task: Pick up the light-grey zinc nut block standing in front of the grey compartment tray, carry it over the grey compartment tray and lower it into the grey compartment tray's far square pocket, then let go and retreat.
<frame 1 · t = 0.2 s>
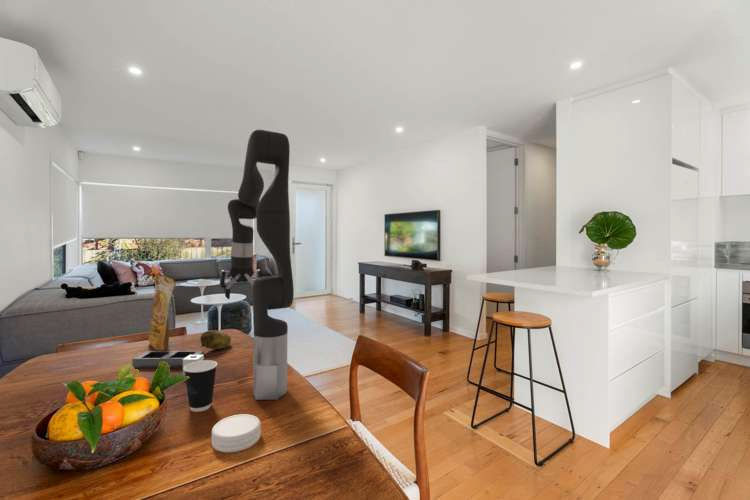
hand: (240, 297, 129), 22 cm above the table, tool pointing down, fingers open, 8 cm apart
coaster: (236, 441, 77), on the table
pancake mix bag: (160, 346, 142), on the table
potato: (216, 349, 138), on the table
grey compartment tray: (169, 363, 121), on the table
nut block: (193, 373, 113), on the table
dixie cup: (200, 407, 91), on the table
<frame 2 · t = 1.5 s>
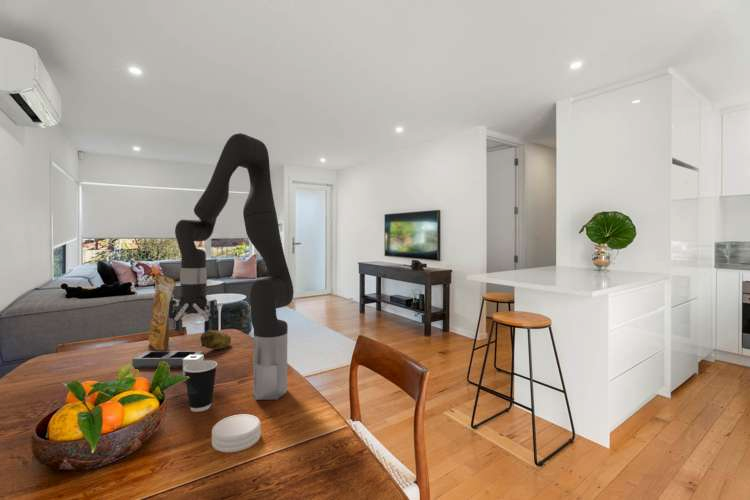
hand: (193, 331, 113), 14 cm above the table, tool pointing down, fingers open, 8 cm apart
nothing on the table moved.
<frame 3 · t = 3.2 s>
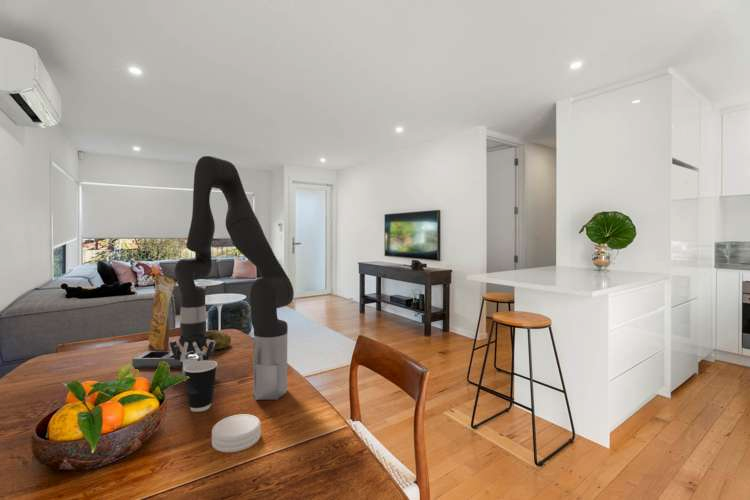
hand: (193, 371, 113), 1 cm above the table, tool pointing down, fingers closed on nut block, 4 cm apart
nut block: (193, 373, 113), on the table, touching gripper
everything else where it was.
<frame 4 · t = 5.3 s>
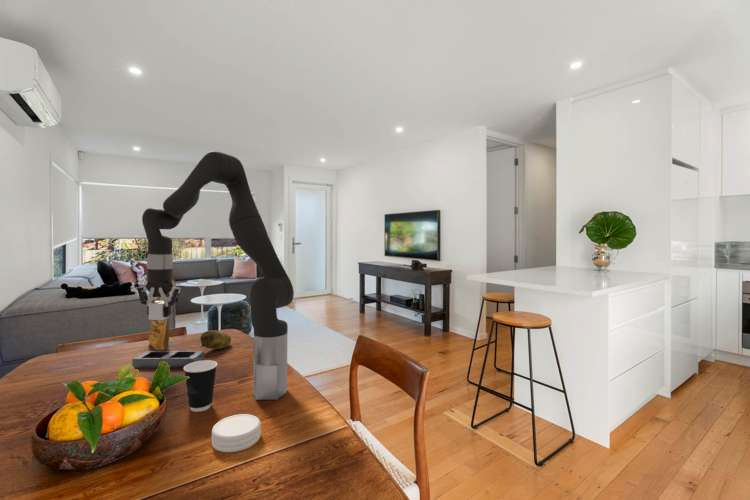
hand: (159, 316, 120), 17 cm above the table, tool pointing down, fingers closed on nut block, 4 cm apart
nut block: (159, 318, 120), point 16 cm above the table, touching gripper
everything else where it was.
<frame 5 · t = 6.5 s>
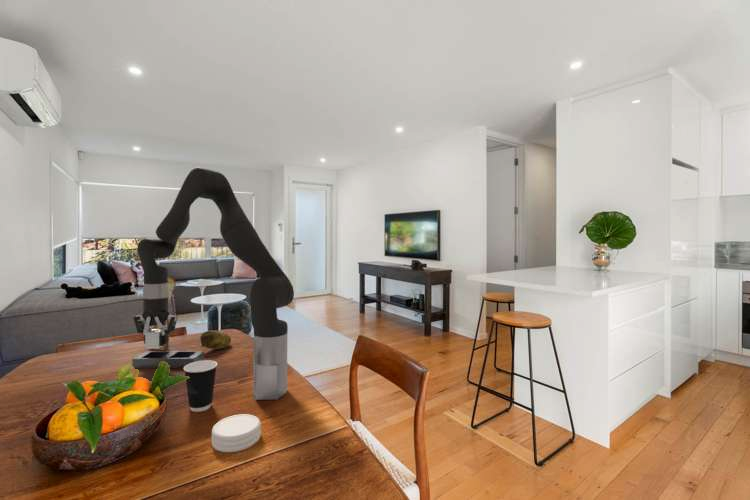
hand: (155, 344, 121), 7 cm above the table, tool pointing down, fingers closed on nut block, 4 cm apart
nut block: (155, 346, 121), point 6 cm above the table, touching gripper
everything else where it was.
when the fingers open (4 cm above the table, at t = 7.6 s): nut block drops 3 cm, resting on grey compartment tray.
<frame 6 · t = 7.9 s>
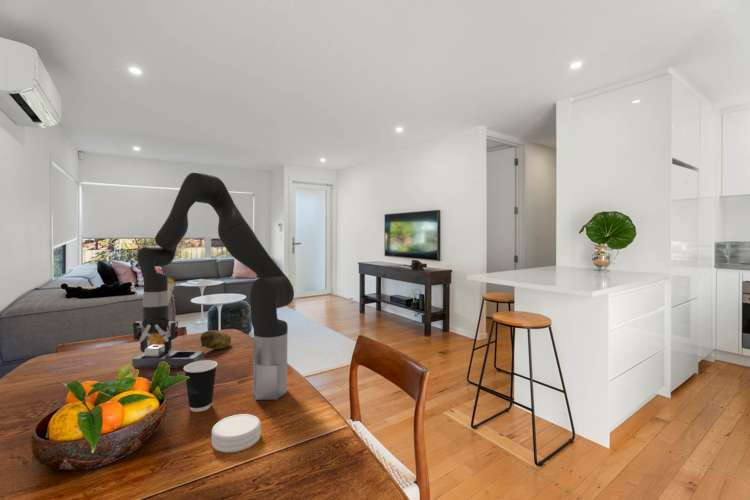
hand: (156, 351, 121), 4 cm above the table, tool pointing down, fingers open, 7 cm apart
nut block: (155, 362, 121), point 1 cm above the table, touching grey compartment tray
everything else where it was.
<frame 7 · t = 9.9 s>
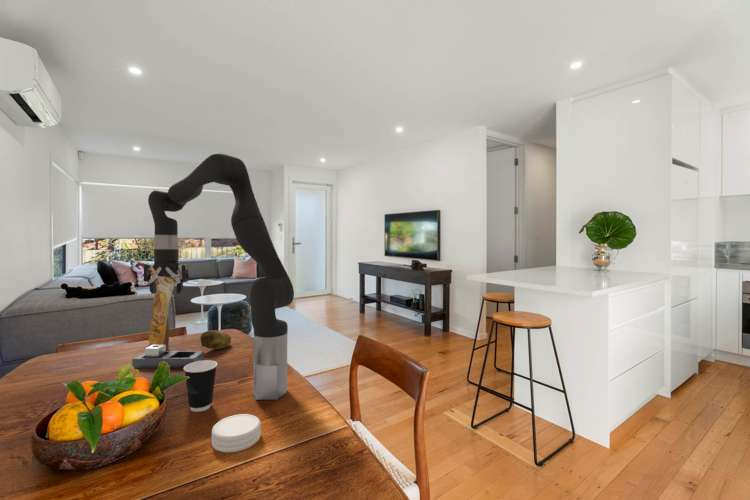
hand: (166, 293, 124), 24 cm above the table, tool pointing down, fingers open, 8 cm apart
nothing on the table moved.
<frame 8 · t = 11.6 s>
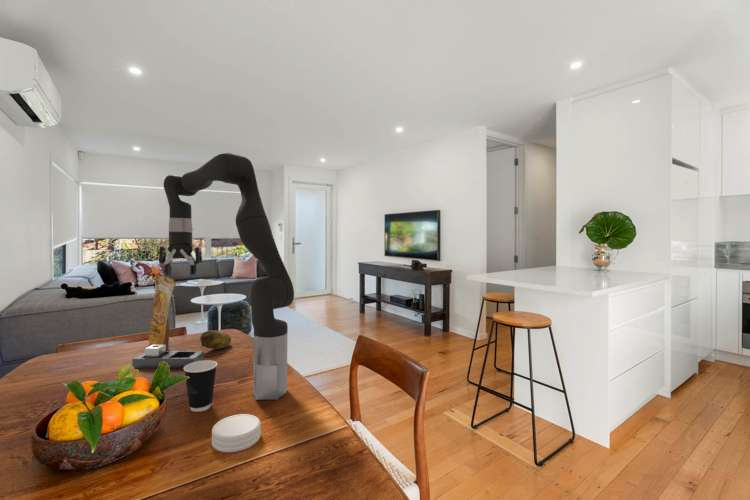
hand: (180, 275, 128), 30 cm above the table, tool pointing down, fingers open, 8 cm apart
nothing on the table moved.
at the end: nut block 0.2 cm from the target spot on the grey compartment tray, point 0.6 cm above the grey compartment tray's base; nut block tilted 0°; the gripper is holding nothing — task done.
